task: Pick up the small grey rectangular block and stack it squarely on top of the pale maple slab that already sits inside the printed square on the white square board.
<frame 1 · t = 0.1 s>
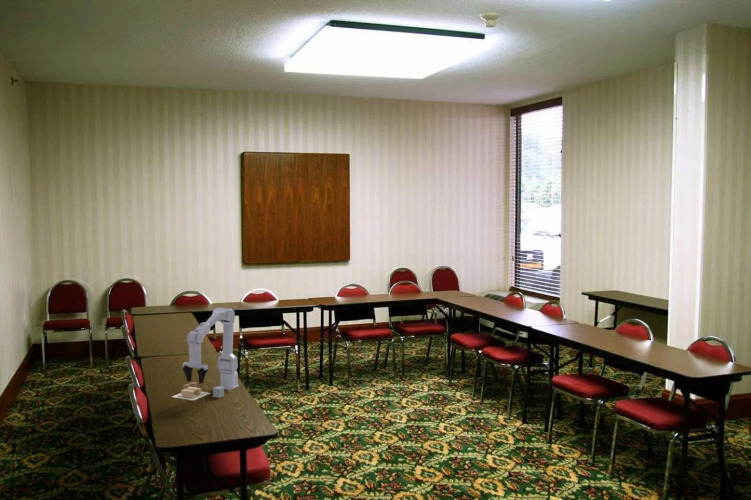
hand: (195, 382, 319), 10 cm above the table, tool pointing down, fingers open, 7 cm apart
walnut bar: (190, 389, 339), on the table, touching white square board
grey rectangular block: (218, 397, 328), on the table
maple slab: (191, 394, 329), resting on white square board
white square board: (191, 395, 329), on the table
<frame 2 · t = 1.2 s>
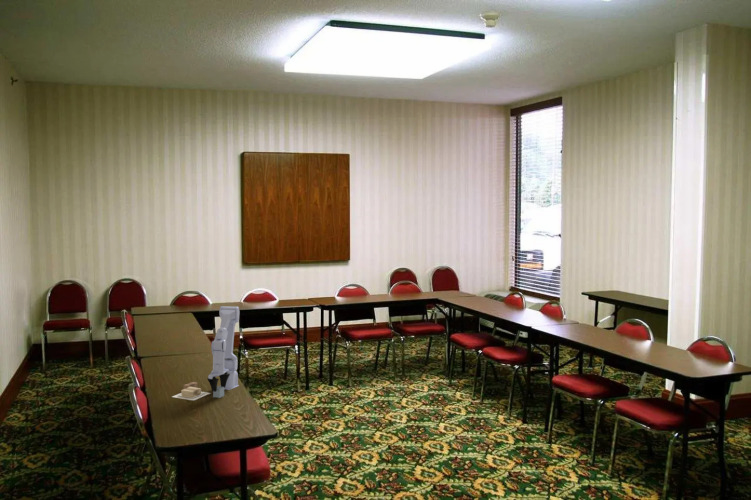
hand: (218, 389, 328), 4 cm above the table, tool pointing down, fingers open, 7 cm apart
nothing on the table moved.
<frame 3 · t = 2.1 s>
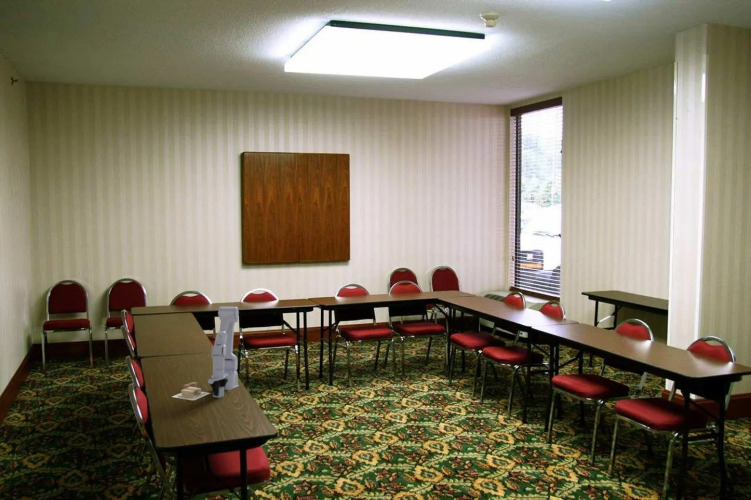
hand: (218, 394, 328), 1 cm above the table, tool pointing down, fingers closed on grey rectangular block, 4 cm apart
grey rectangular block: (218, 396, 328), on the table, touching gripper
everything else where it was.
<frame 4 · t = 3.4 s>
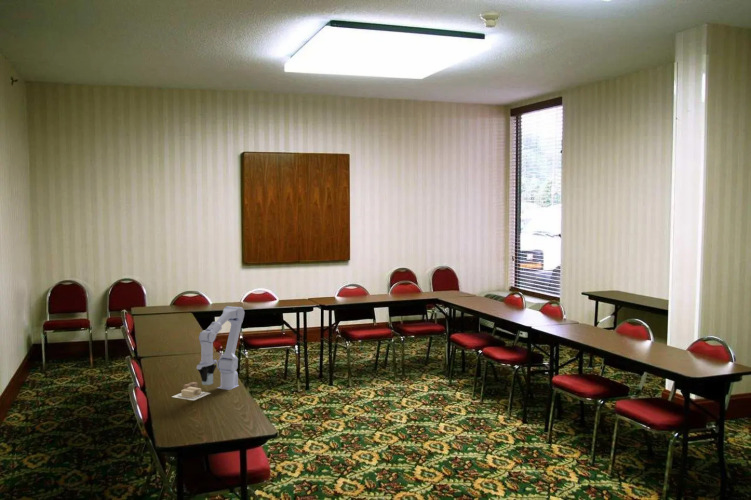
hand: (207, 380, 328), 8 cm above the table, tool pointing down, fingers closed on grey rectangular block, 4 cm apart
grey rectangular block: (207, 383, 328), point 7 cm above the table, touching gripper
everything else where it was.
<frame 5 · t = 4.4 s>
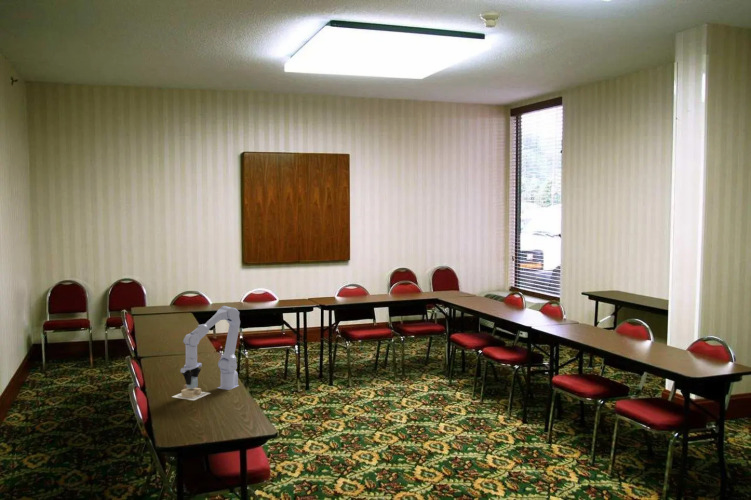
hand: (191, 383, 329), 6 cm above the table, tool pointing down, fingers closed on grey rectangular block, 4 cm apart
grey rectangular block: (192, 387, 329), point 4 cm above the table, touching gripper
everything else where it was.
when the fingers open (6 cm above the table, at t = 4.9 s): grey rectangular block stays where it is, resting on maple slab.
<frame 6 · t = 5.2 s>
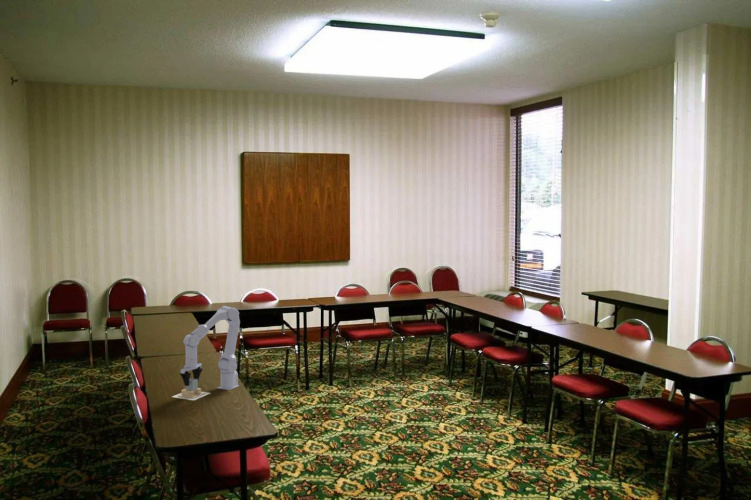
hand: (191, 384, 329), 6 cm above the table, tool pointing down, fingers open, 7 cm apart
grey rectangular block: (192, 389, 329), point 3 cm above the table, touching maple slab
maple slab: (191, 394, 329), resting on white square board, touching grey rectangular block
everything else where it was.
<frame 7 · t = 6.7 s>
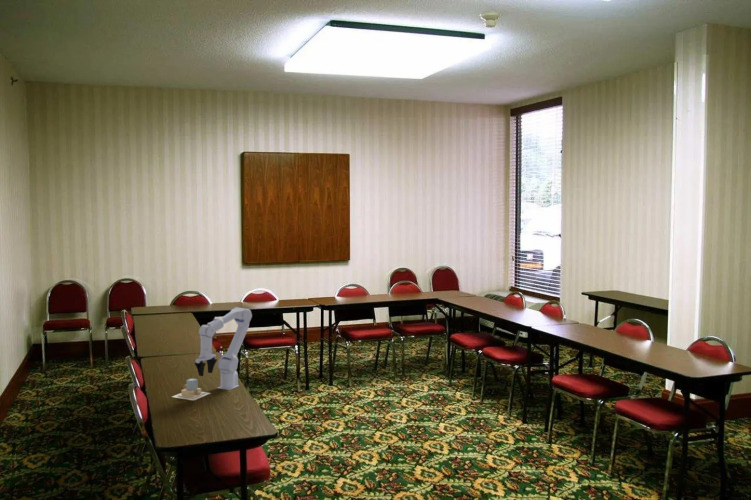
hand: (205, 374, 332), 10 cm above the table, tool pointing down, fingers open, 7 cm apart
nothing on the table moved.
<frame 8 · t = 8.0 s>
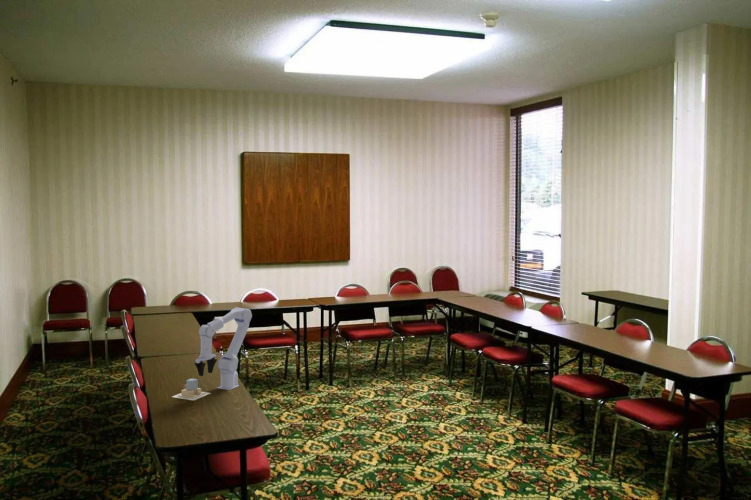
hand: (205, 374, 332), 10 cm above the table, tool pointing down, fingers open, 7 cm apart
nothing on the table moved.
at the end: grey rectangular block 0.4 cm off-centre on the maple slab, point 3.0 cm above the maple slab's base; grey rectangular block tilted 0°; maple slab moved 0.0 cm from its start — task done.
